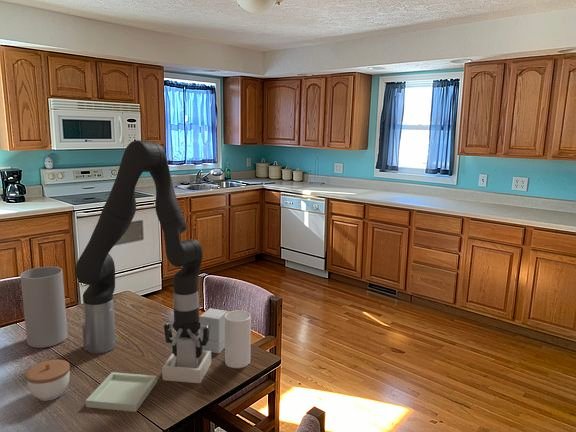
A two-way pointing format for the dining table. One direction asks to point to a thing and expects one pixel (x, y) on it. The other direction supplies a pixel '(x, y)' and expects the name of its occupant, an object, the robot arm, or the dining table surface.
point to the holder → (186, 369)
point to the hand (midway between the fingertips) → (187, 355)
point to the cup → (237, 338)
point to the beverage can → (186, 353)
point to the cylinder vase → (44, 306)
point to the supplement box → (214, 329)
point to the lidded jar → (48, 379)
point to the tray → (122, 392)
